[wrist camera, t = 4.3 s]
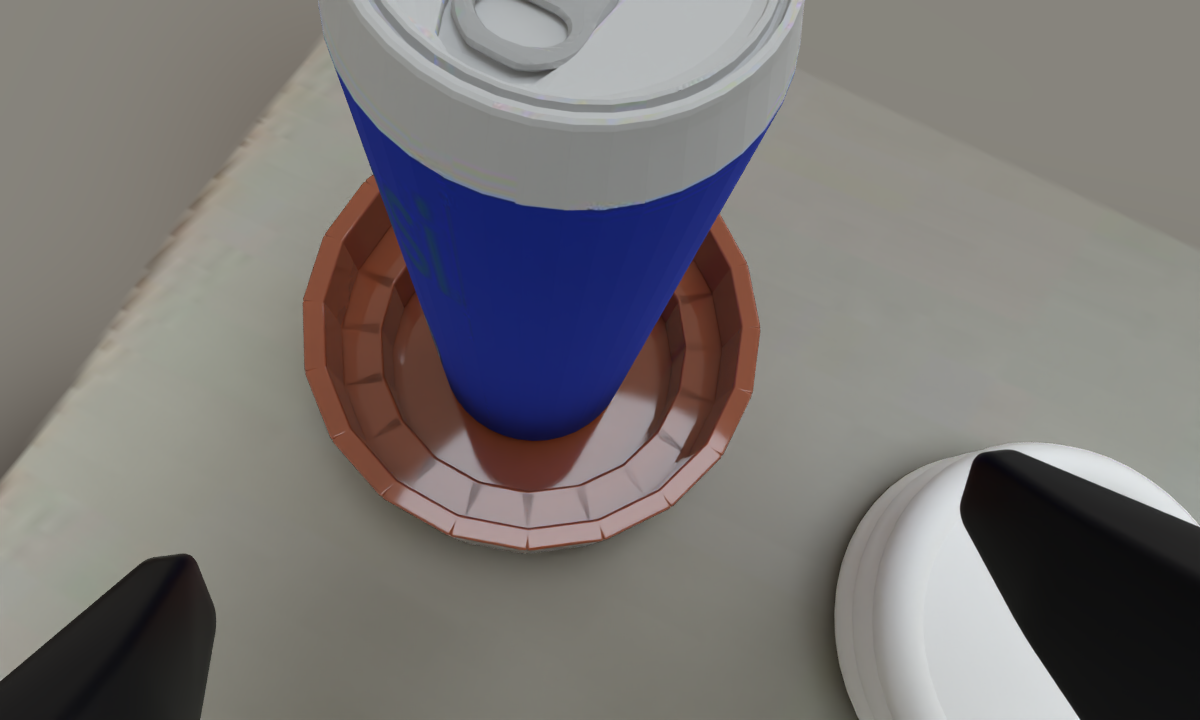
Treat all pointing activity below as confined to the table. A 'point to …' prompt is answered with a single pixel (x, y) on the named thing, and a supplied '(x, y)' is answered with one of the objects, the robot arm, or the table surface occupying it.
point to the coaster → (949, 601)
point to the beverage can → (555, 173)
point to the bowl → (503, 464)
